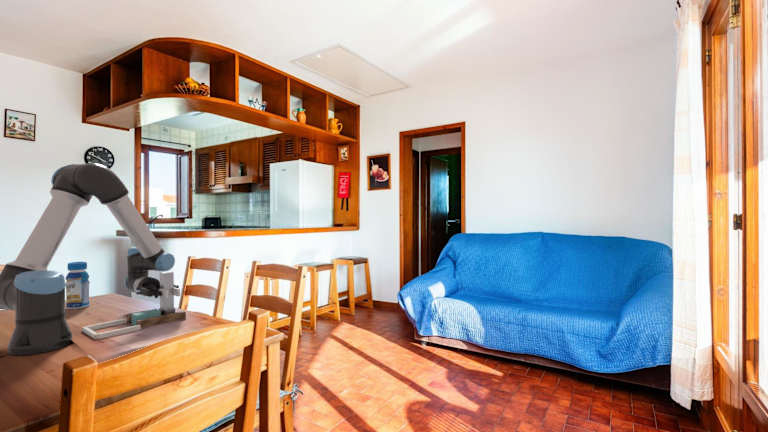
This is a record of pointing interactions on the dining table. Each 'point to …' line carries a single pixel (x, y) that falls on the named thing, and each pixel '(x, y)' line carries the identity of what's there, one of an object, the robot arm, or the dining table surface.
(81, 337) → the dining table surface
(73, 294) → the blue pill bottle
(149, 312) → the teal block
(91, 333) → the tray
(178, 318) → the channel
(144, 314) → the teal cube
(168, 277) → the brushed metal bar
